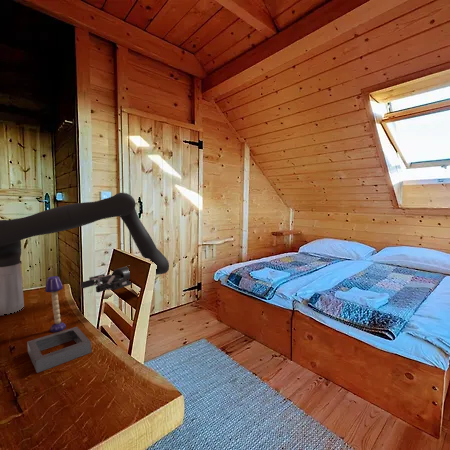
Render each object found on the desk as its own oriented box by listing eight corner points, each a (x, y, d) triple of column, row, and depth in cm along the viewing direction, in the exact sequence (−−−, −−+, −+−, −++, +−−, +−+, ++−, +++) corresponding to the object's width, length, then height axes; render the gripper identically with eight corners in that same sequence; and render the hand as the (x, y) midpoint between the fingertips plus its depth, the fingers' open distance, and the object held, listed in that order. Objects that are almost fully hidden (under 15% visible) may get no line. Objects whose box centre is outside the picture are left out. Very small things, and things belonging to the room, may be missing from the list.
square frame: (36, 373, 63) (36, 360, 62) (28, 352, 71) (27, 341, 71) (91, 352, 71) (90, 341, 71) (77, 336, 80) (77, 326, 79)
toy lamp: (47, 334, 81) (43, 280, 80) (49, 327, 85) (45, 276, 84) (65, 330, 83) (62, 277, 82) (66, 324, 87) (63, 274, 86)
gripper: (115, 264, 110) (76, 274, 96) (139, 268, 103) (101, 279, 89) (116, 282, 111) (77, 294, 97) (140, 287, 103) (102, 301, 90)
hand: (89, 287), depth 93 cm, fingers open, 8 cm apart
